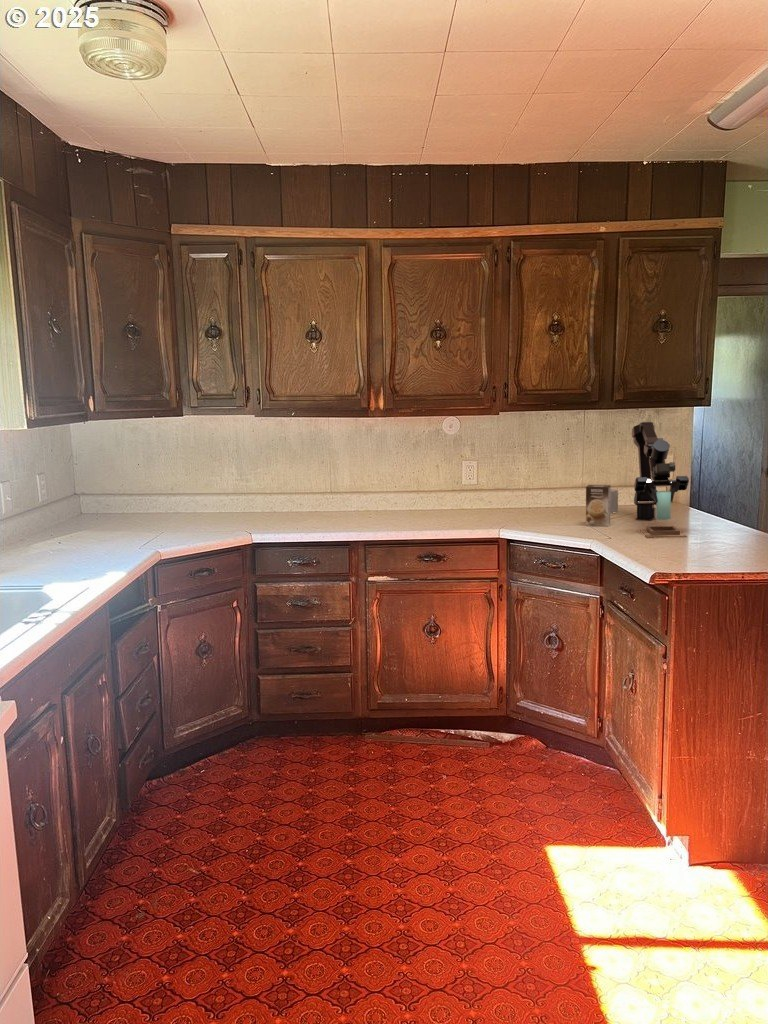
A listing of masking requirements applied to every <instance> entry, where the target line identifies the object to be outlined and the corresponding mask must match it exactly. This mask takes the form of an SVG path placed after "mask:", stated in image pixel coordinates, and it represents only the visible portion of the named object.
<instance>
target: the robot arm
mask: <svg viewBox="0 0 768 1024" xmlns="http://www.w3.org/2000/svg"><path fill="white" fill-rule="evenodd" d="M631 438H633V444H634V445H635V446H636V447H637V451H638V452H637V453H638V466H639V467H638V469H639V471H638V472H639V476H638V477H637V476H636V478H635V480H634V485H633V486H634V487H633V488H634V491H635V494H634V498H633V504H634V505H635V506H636V518H635V520H637V521H653V520H655V519H656V507H655V506H656V503H657V495H656V492H658V489H657V487H670V488H669V491H670V492H671V503H673V500H674V496H675V493H677V492H679V491H686V490H687V489H688V486H689V482H690V480H689V477H688V475H676V478H675V479H670V477H671V474H670V473H671V472H675V471H676V462H675V461H674V462H673V461H671V462H669V463H668V462H667V463H666V460H667V457H668V455H669V451H670V449H671V446H670V443H669V442H668V441H666V440H665V439H664V438H662V437H658V435H657V433H656V430H655V425H654V422H652V421H641V422H639V424H636V425H634V426H633V427H632V428H631Z"/></svg>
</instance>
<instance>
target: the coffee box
mask: <svg viewBox="0 0 768 1024" xmlns="http://www.w3.org/2000/svg"><path fill="white" fill-rule="evenodd" d="M611 489H612V488H611V485H610V484H588V485H586V487H585V527H606V526H608V527H609V526H610V525H611V514H610V494H611Z"/></svg>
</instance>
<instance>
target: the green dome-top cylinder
mask: <svg viewBox="0 0 768 1024" xmlns="http://www.w3.org/2000/svg"><path fill="white" fill-rule="evenodd" d="M657 491H658V490H657ZM656 495H657V503H656V505H655V506H656V507H655V508H656V513H655V519H656V520H659V521H660V520H661V521H668V520H671V511H672V510H671V509H672V507H671V505H672V502H671V492H670V490H660V491H658V492H656Z"/></svg>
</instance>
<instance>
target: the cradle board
mask: <svg viewBox="0 0 768 1024" xmlns="http://www.w3.org/2000/svg"><path fill="white" fill-rule="evenodd" d="M645 527H646V529H639V532H640V533H641V532H642V533H643V534H644V535H645V536H644V535H643V534H642V533H641V534H642V535H643V536H644V537H645V538H646V539H655V538H654V537H687V538H688V535H686V534H685V533H684V532H683V531H681V529H679V528H677V527H676V526H674V525H669V526H667V525H663V526H661V525H659V526H645Z"/></svg>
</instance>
